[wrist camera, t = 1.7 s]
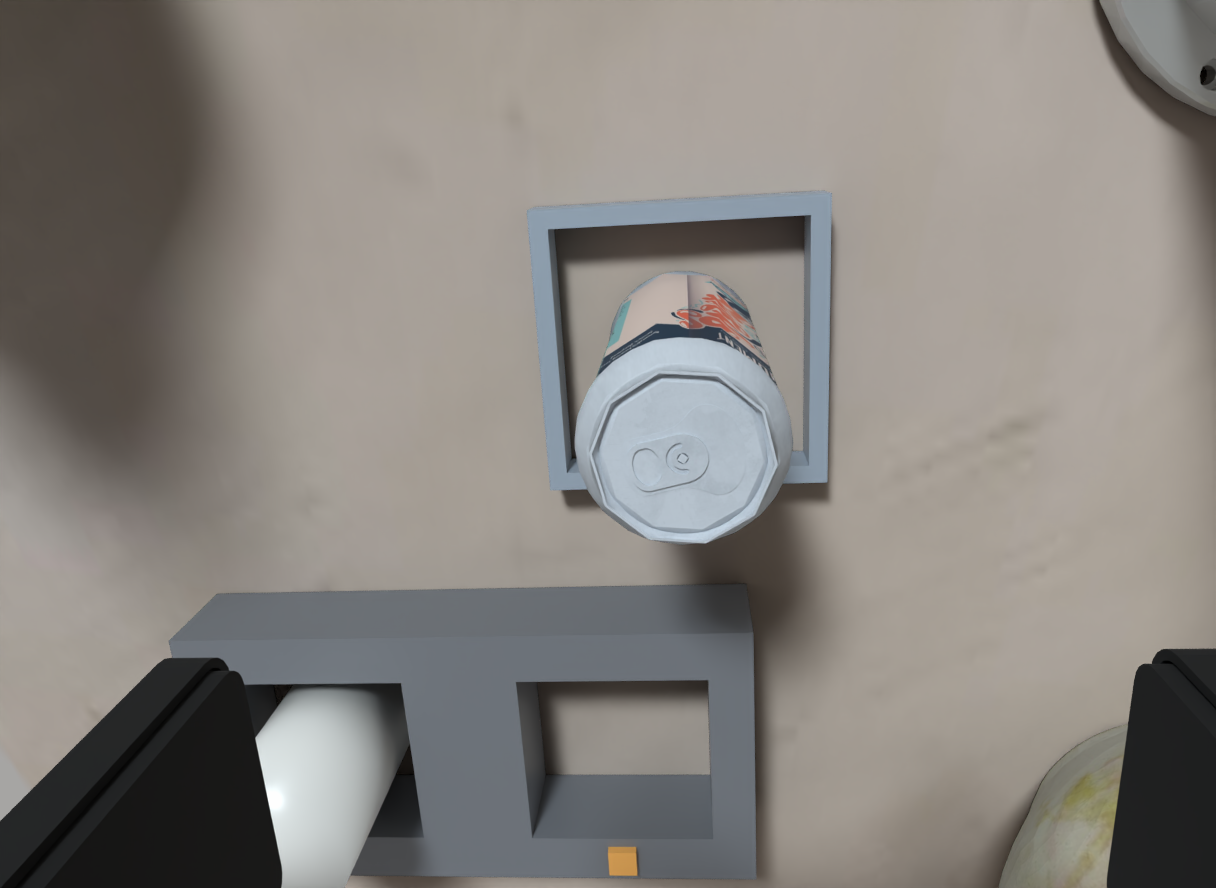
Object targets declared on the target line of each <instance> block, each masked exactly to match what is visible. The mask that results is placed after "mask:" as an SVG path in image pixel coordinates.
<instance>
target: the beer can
mask: <svg viewBox="0 0 1216 888" xmlns="http://www.w3.org/2000/svg"><path fill="white" fill-rule="evenodd" d="M792 448H793V438H792V430H791V421H790V416H789V413H788V411H787V408H786V405H785V402H784V399H783V396H782V394H781V392H780V391H779V389H778V387H777V384H776V382H775V379H774V377H773V374H772V372H771V369H770V366H769V364H768V361H767V359H766V356H765V354H764V351H763V349H762V346H761V343H760V341H759V338H758V336H757V333H756V331H755V328H754V326H753V323H752V320H751V318H750V315H749V312H748V309H747V307H746V305H745V304H744V302H743V301H742V300H741V299H740V297H739V296H738V295H737V294H736V293H735V292H734V291H733V290H732V289H730V288H729V287H728V286H726V285H725V284H723V283H722V282H721V281H719V280H717V279H715V278H713V277H711V276H709V275H705V274H701V273H696V272H682V271H675V272H670V273H665V274H661V275H659V276H656V277H653V278H651V279H649V280H648V281H646V282H644V283H643V284H641V285H640V286H638V287H637V288H636V289H635V290H634V291H633V292H632V293H631V294H629V295H628V296H627V297H626V298H625V300H624V301H623V303H622V304H621V306H620V307H619V310H618V312H617V314H616V316H615V319H614V321H613V323H612V328H611V334H610V339H609V343H608V346H607V349H606V352H605V354H604V357H603V360H602V363H601V365H600V368H599V371H598V374H597V377H596V379H595V381H594V382H593V384H592V385H591V387H590V389H589V390H588V392H587V395H586V397H585V399H584V402H583V404H582V406H581V409H580V411H579V413H578V417H577V423H576V432H575V452H576V457H577V462H578V467H579V471H580V474H581V476H582V478H583V481H584V483H585V485H586V487H587V490H588V492H589V493H590V495H591V496H592V497H593V499H594V500H595V501H596V503H597V504H598V505H599V506H600V508H601V509H602V510H603V511H604V512H605V513H606V514H607V515H608V516H610V517H611V518H612V519H614V520H615V521H616V522H618V523H619V524H620V525H622V526H623V527H624V528H626V529H627V530H628V531H630V532H633V533H635V534H637V535H639V536H641V537H643V538H646V539H649V540H654V541H660V542H666V543H672V544H679V545H684V544H695V543H707V542H711V541H713V540H716V539H719V538H722V537H724V536H727V535H730V534H732V533H735V532H737V531H738V530H740V529H741V528H743V527H744V526H746V525H747V524H749V523H750V522H752V521H753V520H754V519H756V518H757V517H758V516H760V515H761V514H762V513H763V511H764V510H765V509H766V508H767V507H768V506H769V504H770V503H771V502H772V501H773V499H774V498H775V497H776V495H777V493H778V491H779V489H780V487H781V485H782V483H783V481H784V479H785V477H786V475H787V473H788V470H789V467H790V460H791V453H792Z"/></svg>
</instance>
